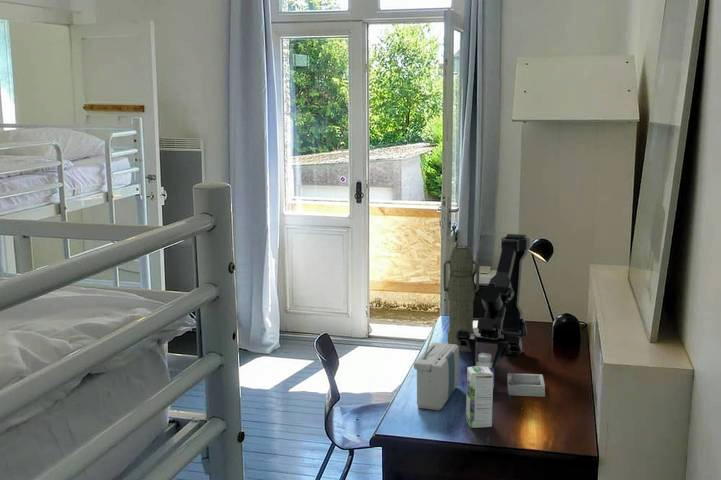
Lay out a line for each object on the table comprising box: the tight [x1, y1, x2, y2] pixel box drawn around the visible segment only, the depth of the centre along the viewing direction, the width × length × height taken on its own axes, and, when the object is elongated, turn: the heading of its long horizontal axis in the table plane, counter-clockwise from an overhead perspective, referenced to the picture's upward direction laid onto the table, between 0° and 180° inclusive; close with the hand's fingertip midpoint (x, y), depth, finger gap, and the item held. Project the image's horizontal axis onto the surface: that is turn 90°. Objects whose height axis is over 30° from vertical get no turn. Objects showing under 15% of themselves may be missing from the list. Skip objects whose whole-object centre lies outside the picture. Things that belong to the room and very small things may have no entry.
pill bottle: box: [475, 352, 495, 388], centre depth 225 cm, size 5×5×10 cm
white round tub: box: [473, 320, 480, 336], centre depth 280 cm, size 10×10×4 cm
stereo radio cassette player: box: [413, 320, 461, 412], centre depth 216 cm, size 21×8×20 cm, turn 160°
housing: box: [507, 372, 546, 398], centre depth 222 cm, size 10×10×3 cm
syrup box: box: [465, 366, 494, 429], centre depth 198 cm, size 6×6×14 cm
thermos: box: [442, 245, 481, 354], centre depth 258 cm, size 9×12×35 cm
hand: (483, 366), depth 223 cm, fingers closed on pill bottle, 5 cm apart
